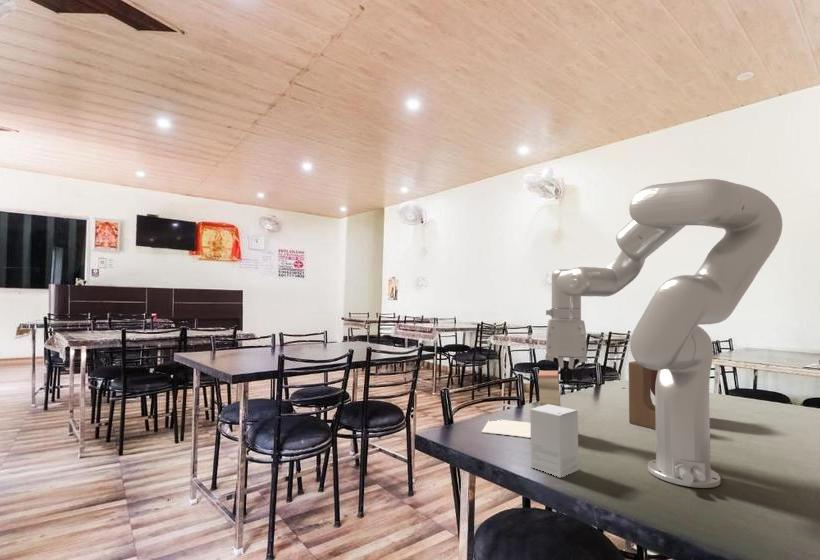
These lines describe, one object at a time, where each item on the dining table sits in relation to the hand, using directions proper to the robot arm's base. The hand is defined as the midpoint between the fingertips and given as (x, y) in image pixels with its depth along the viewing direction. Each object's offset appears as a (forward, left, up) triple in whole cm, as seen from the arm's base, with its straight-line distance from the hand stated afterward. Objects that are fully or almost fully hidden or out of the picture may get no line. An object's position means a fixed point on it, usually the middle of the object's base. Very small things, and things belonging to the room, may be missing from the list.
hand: (566, 382), depth 115 cm
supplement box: (-26, +3, -14) cm, 30 cm away
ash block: (0, +4, -14) cm, 14 cm away
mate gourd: (+32, -32, -14) cm, 48 cm away
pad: (0, +15, -14) cm, 20 cm away
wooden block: (+18, -22, -14) cm, 32 cm away
